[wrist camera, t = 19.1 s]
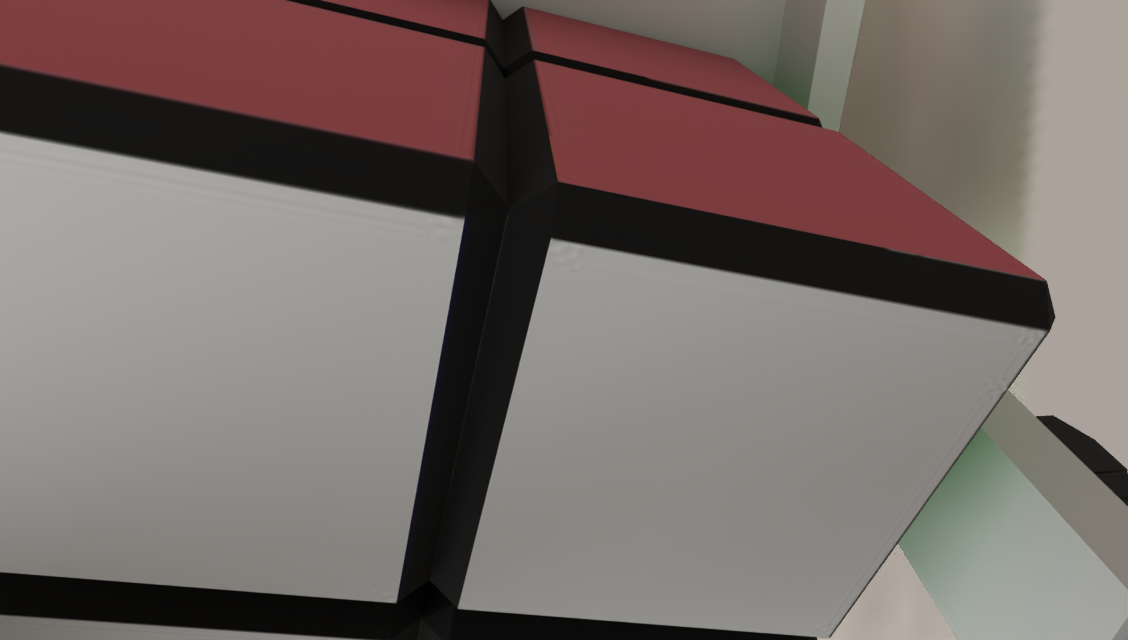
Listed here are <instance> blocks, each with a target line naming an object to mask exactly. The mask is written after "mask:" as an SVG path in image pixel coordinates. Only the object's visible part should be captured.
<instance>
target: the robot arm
mask: <svg viewBox="0 0 1128 640" xmlns="http://www.w3.org/2000/svg"><path fill="white" fill-rule="evenodd" d="M898 544H899V546H900V547H901V549H902V550H903V552H904V554H905V555H906V557H907V559H908V560H909V562H910V563H911V565H912V567H913V568H914V570H915V572H916V573H917V575H918V576H919V578H920V580H921V581H922V583H923V585H924V586H925V588H926V589H927V591H928V593H929V594H930V596H931V598H932V599H933V601H934V602H935V604H936V606H937V607H938V609H939V611H940V612H941V614H942V615H943V617H944V619H945V620H946V622H947V624H948V625H949V627H950V628H951V630H952V632H953V633H954V635H955V637H956V638H957V640H1128V473H1127V469H1126V468H1125V467H1124V466H1123V465H1122V464H1121V463H1120V462H1119V461H1117V460H1116V459H1115V458H1114V457H1113V456H1112V455H1111V454H1110V453H1109V452H1107V451H1106V450H1105V449H1104V448H1103V447H1102V446H1101V445H1100V444H1099V443H1098V442H1096V440H1094V439H1093V438H1091V437H1089V436H1087V435H1085V434H1084V433H1082V432H1080V431H1079V430H1077V429H1075V428H1074V427H1072V426H1070V425H1068V424H1067V423H1065V422H1063V421H1062V420H1060V419H1058V418H1056V417H1054V416H1053V415H1052V416H1034V415H1033V414H1032V413H1031V412H1030V411H1029V410H1028V409H1027V408H1026V407H1025V406H1024V405H1023V404H1022V403H1021V402H1020V401H1019V400H1018V399H1017V398H1016V397H1015V396H1014V395H1013V394H1012V393H1011V392H1010V391H1008V390H1007V392H1006V393H1005V394H1004V396H1003V397H1002V399H1001V400H1000V401H999V403H998V404H997V405H996V407H995V408H994V410H993V411H992V412H991V414H990V415H989V417H988V418H987V419H986V421H985V422H984V424H983V425H982V426H981V428H980V429H979V431H978V432H977V433H976V435H975V436H974V438H973V439H972V440H971V442H970V443H969V445H968V446H967V447H966V449H965V450H964V452H963V453H962V454H961V456H960V457H959V459H958V460H957V461H956V463H955V464H954V465H953V467H952V468H951V470H950V471H949V472H948V474H947V475H946V477H945V478H944V479H943V481H942V482H941V484H940V485H939V486H938V488H937V489H936V491H935V492H934V493H933V495H932V496H931V498H930V499H929V500H928V502H927V503H926V505H925V506H924V507H923V509H922V510H921V512H920V513H919V514H918V516H917V517H916V519H915V520H914V521H913V523H912V524H911V526H910V527H909V528H908V530H907V531H906V532H905V534H904V535H903V537H902V538H901V539H900V541H899V542H898Z"/></svg>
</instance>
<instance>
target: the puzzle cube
mask: <svg viewBox="0 0 1128 640" xmlns="http://www.w3.org/2000/svg"><path fill="white" fill-rule="evenodd" d="M1054 319H1055V314H1054V309H1053V305H1052V301H1051V297H1050V293H1049V288H1048V284H1047V281H1046V280H1045V279H1044V278H1042V277H1041V276H1039V275H1038V274H1037V273H1035V272H1034V271H1032V270H1031V269H1029V268H1028V267H1027V266H1025V265H1024V264H1022V263H1021V262H1020V261H1018V260H1017V259H1015V258H1014V257H1013V256H1011V255H1010V254H1008V253H1007V252H1006V251H1004V250H1003V249H1001V248H1000V247H999V246H997V245H996V244H994V243H993V242H992V241H990V240H989V239H987V238H986V237H985V236H983V235H982V234H980V233H979V232H978V231H976V230H975V229H973V228H972V227H971V226H969V225H968V224H966V223H965V222H964V221H962V220H961V219H959V218H958V217H957V216H955V215H954V214H952V213H951V212H950V211H948V210H947V209H945V208H944V207H943V206H941V205H940V204H938V203H937V202H936V201H934V200H933V199H931V198H930V197H929V196H927V195H926V194H924V193H923V192H922V191H920V190H919V189H917V188H916V187H915V186H913V185H912V184H910V183H909V182H908V181H906V180H905V179H903V178H902V177H901V176H899V175H898V174H896V173H895V172H894V171H892V170H891V169H889V168H888V167H887V166H885V165H884V164H882V163H881V162H880V161H878V160H877V159H875V158H874V157H872V156H871V155H870V154H868V153H867V152H865V151H864V150H863V149H861V148H860V147H858V146H857V145H856V144H854V143H853V142H851V141H850V140H849V139H847V138H846V137H844V136H843V135H842V134H840V133H839V132H837V131H834V130H830V129H825V128H823V127H822V124H821V122H820V119H819V118H818V117H817V116H815V115H814V114H813V113H811V112H810V111H808V110H807V109H805V108H804V107H803V106H801V105H800V104H798V103H797V102H795V101H794V100H792V99H791V98H790V97H788V96H787V95H785V94H784V93H782V92H781V91H780V90H778V89H777V88H775V87H774V86H772V85H771V84H769V83H768V82H767V81H765V80H764V79H762V78H761V77H759V76H758V75H757V74H755V73H754V72H752V71H751V70H749V69H748V68H746V67H745V66H744V65H742V64H741V63H739V62H738V61H736V60H735V59H733V58H729V57H725V56H721V55H717V54H713V53H709V52H705V51H701V50H697V49H693V48H689V47H685V46H681V45H677V44H673V43H669V42H665V41H660V40H656V39H652V38H648V37H644V36H640V35H636V34H632V33H628V32H624V31H620V30H616V29H612V28H608V27H604V26H600V25H596V24H592V23H588V22H584V21H580V20H576V19H572V18H568V17H564V16H560V15H556V14H552V13H548V12H544V11H540V10H536V9H532V8H528V7H523V6H522V7H521V8H519V9H518V10H517V11H515V12H514V13H512V14H511V15H509V16H508V17H506V18H505V19H504V20H503V19H502V18H501V16H500V14H499V13H498V11H497V10H496V8H495V6H494V5H493V3H492V1H491V0H0V640H817V637H823V638H830V637H831V636H832V634H833V633H834V632H835V630H836V629H837V627H838V626H839V625H840V623H841V622H842V620H843V619H844V618H845V616H846V615H847V613H848V612H849V611H850V609H851V608H852V606H853V605H854V604H855V602H856V601H857V599H858V598H859V597H860V595H861V594H862V592H863V591H864V590H865V588H866V587H867V586H868V584H869V583H870V581H871V580H872V579H873V577H874V576H875V574H876V573H877V572H878V570H879V569H880V567H881V566H882V565H883V563H884V562H885V560H886V559H887V558H888V556H889V555H890V553H891V552H892V551H893V549H894V548H895V546H896V545H897V544H898V542H899V541H900V539H901V538H902V537H903V535H904V534H905V532H906V531H907V530H908V528H909V527H910V526H911V524H912V523H913V521H914V520H915V519H916V517H917V516H918V514H919V513H920V512H921V510H922V509H923V507H924V506H925V505H926V503H927V502H928V500H929V499H930V498H931V496H932V495H933V493H934V492H935V491H936V489H937V488H938V486H939V485H940V484H941V482H942V481H943V479H944V478H945V477H946V475H947V474H948V472H949V471H950V470H951V468H952V467H953V465H954V464H955V463H956V461H957V460H958V459H959V457H960V456H961V454H962V453H963V452H964V450H965V449H966V447H967V446H968V445H969V443H970V442H971V440H972V439H973V438H974V436H975V435H976V433H977V432H978V431H979V429H980V428H981V426H982V425H983V424H984V422H985V421H986V419H987V418H988V417H989V415H990V414H991V412H992V411H993V410H994V408H995V407H996V405H997V404H998V403H999V401H1000V400H1001V399H1002V397H1003V396H1004V394H1005V393H1006V392H1007V390H1008V389H1009V387H1010V386H1011V385H1012V383H1013V382H1014V380H1015V379H1016V378H1017V376H1018V375H1019V373H1020V372H1021V371H1022V369H1023V368H1024V366H1025V365H1026V364H1027V362H1028V361H1029V359H1030V358H1031V357H1032V355H1033V354H1034V352H1035V351H1036V350H1037V348H1038V347H1039V345H1040V344H1041V343H1042V341H1043V340H1044V338H1045V337H1046V336H1047V334H1048V333H1049V332H1050V329H1051V327H1052V324H1053V322H1054Z"/></svg>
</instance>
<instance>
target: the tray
mask: <svg viewBox="0 0 1128 640" xmlns="http://www.w3.org/2000/svg"><path fill="white" fill-rule="evenodd" d="M491 1H492V3H493V5H494V6H495V8H496V10H497V11H498V13H499V14H500V16H501V18H502V19H503V20H504V19H505V18H506V17H508V16H509V15H511V14H512V13H514V12H515V11H517V10H518V9H519V8H521V7H522V6H523V7H528V8H532V9H536V10H540V11H544V12H548V13H552V14H556V15H560V16H564V17H568V18H572V19H576V20H580V21H584V22H588V23H592V24H596V25H600V26H604V27H608V28H612V29H616V30H620V31H624V32H628V33H632V34H636V35H640V36H644V37H648V38H652V39H656V40H660V41H665V42H669V43H673V44H677V45H681V46H685V47H689V48H693V49H697V50H701V51H705V52H709V53H713V54H717V55H721V56H725V57H729V58H733V59H735V60H736V61H738V62H739V63H741V64H742V65H744V66H745V67H746V68H748V69H749V70H751V71H752V72H754V73H755V74H757V75H758V76H759V77H761V78H762V79H764V80H765V81H767V82H768V83H769V84H771V85H772V86H774V87H775V88H777V89H778V90H780V91H781V92H782V93H784V94H785V95H787V96H788V97H790V98H791V99H792V100H794V101H795V102H797V103H798V104H800V105H801V106H803V107H804V108H805V109H807V110H808V111H810V112H811V113H813V114H814V115H815V116H817V117H818V118H819V119H820V122H821V124H822V127H823V128H825V129H830V130H834V131H837V132H839V128H840V124H841V119H842V114H843V109H844V104H845V99H846V94H847V89H848V84H849V79H850V74H851V69H852V64H853V59H854V54H855V49H856V45H857V40H858V35H859V30H860V25H861V20H862V15H863V10H864V5H865V0H491Z"/></svg>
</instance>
